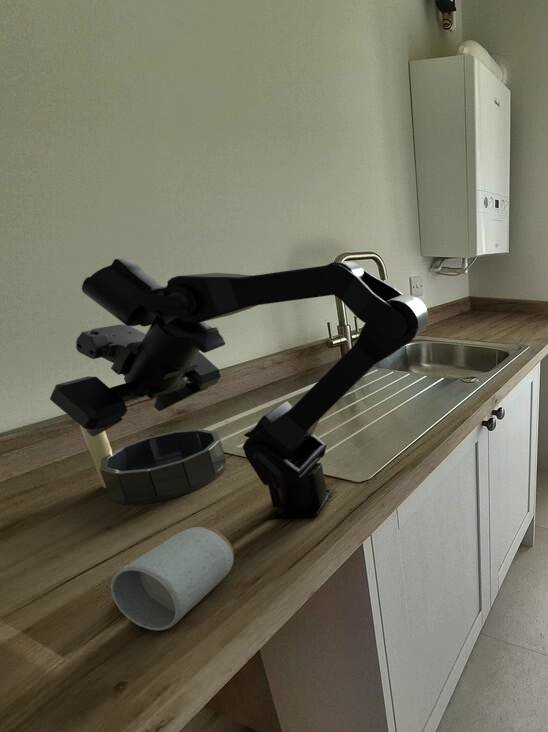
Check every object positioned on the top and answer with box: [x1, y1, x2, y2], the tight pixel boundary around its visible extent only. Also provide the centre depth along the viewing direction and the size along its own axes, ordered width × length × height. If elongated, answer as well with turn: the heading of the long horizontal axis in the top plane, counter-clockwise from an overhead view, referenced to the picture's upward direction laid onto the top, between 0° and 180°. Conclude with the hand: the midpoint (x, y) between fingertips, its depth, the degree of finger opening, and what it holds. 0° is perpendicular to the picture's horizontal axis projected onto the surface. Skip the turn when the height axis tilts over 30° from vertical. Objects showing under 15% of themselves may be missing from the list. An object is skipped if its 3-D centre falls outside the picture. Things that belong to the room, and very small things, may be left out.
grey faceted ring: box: [78, 424, 227, 506], centre depth 65 cm, size 17×15×13 cm
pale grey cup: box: [110, 525, 235, 632], centre depth 44 cm, size 11×8×8 cm
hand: (126, 420), depth 60 cm, fingers open, 9 cm apart
